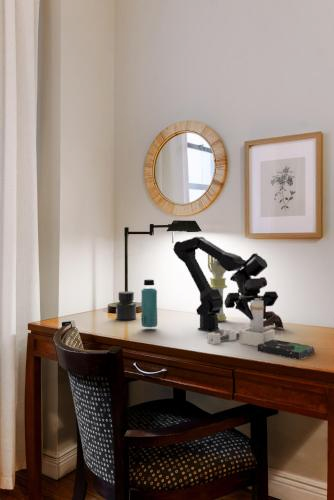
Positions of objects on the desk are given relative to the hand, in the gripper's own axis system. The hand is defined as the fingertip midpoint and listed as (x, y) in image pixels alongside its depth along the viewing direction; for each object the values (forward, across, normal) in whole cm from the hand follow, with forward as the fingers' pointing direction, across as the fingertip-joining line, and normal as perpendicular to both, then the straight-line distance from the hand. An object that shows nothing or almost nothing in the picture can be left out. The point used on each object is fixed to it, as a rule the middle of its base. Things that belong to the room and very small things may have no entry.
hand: (258, 319), depth 152 cm
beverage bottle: (-17, -32, +29) cm, 46 cm away
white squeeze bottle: (+4, 0, +6) cm, 7 cm away
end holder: (+5, 0, +7) cm, 9 cm away
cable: (+1, -5, +10) cm, 11 cm away
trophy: (-24, +2, +36) cm, 43 cm away
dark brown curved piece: (-8, +16, +21) cm, 28 cm away
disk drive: (+16, +3, -3) cm, 16 cm away
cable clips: (0, -6, +12) cm, 13 cm away
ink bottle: (-34, -37, +47) cm, 69 cm away
